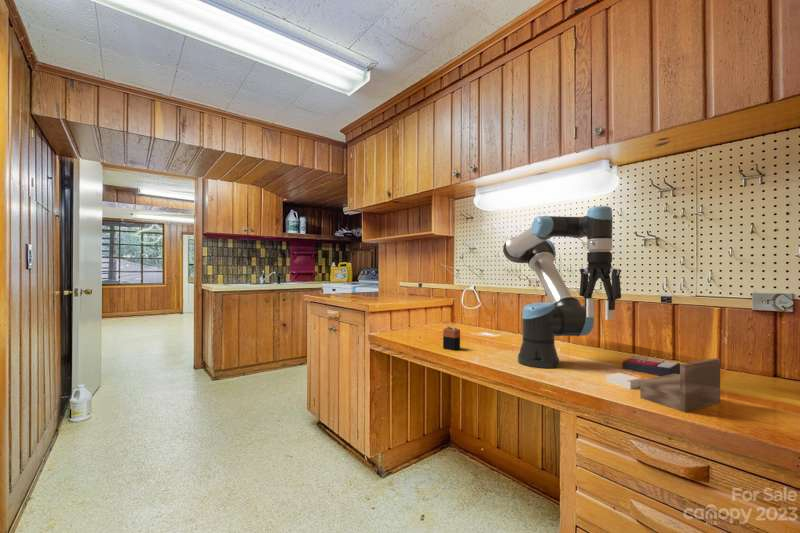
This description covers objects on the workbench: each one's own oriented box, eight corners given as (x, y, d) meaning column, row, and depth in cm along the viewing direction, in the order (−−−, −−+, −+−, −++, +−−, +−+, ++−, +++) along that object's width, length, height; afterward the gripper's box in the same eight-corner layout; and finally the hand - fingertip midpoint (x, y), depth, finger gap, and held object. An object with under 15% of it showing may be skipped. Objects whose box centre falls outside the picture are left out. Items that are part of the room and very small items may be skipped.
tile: (605, 382, 116) (605, 374, 117) (619, 380, 119) (619, 372, 119) (630, 390, 109) (630, 381, 109) (644, 387, 112) (644, 378, 112)
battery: (448, 347, 166) (448, 325, 166) (460, 349, 162) (460, 327, 162) (442, 348, 163) (442, 326, 163) (455, 350, 158) (455, 328, 158)
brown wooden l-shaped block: (640, 397, 102) (640, 355, 102) (675, 389, 109) (675, 350, 109) (685, 412, 92) (685, 365, 92) (720, 402, 99) (720, 359, 99)
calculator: (632, 355, 139) (680, 361, 127) (633, 366, 139) (681, 373, 127) (621, 359, 132) (671, 366, 120) (622, 371, 132) (671, 379, 120)
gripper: (568, 252, 130) (567, 315, 130) (620, 250, 112) (619, 322, 112) (582, 252, 133) (582, 314, 133) (634, 250, 116) (634, 321, 115)
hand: (599, 318), depth 123 cm, fingers open, 6 cm apart
